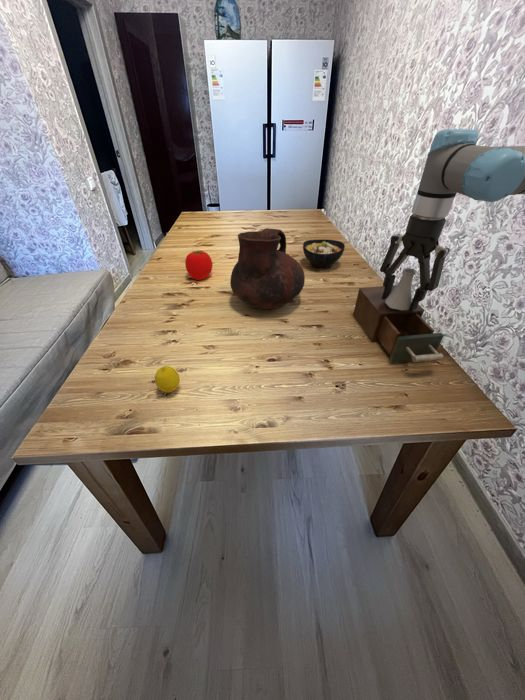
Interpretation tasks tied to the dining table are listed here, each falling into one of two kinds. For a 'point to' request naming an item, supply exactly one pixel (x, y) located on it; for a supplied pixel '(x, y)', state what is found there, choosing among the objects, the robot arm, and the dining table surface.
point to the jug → (265, 270)
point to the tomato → (198, 264)
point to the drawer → (409, 338)
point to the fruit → (167, 379)
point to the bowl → (323, 252)
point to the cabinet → (375, 310)
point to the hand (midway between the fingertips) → (398, 303)
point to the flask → (402, 291)
